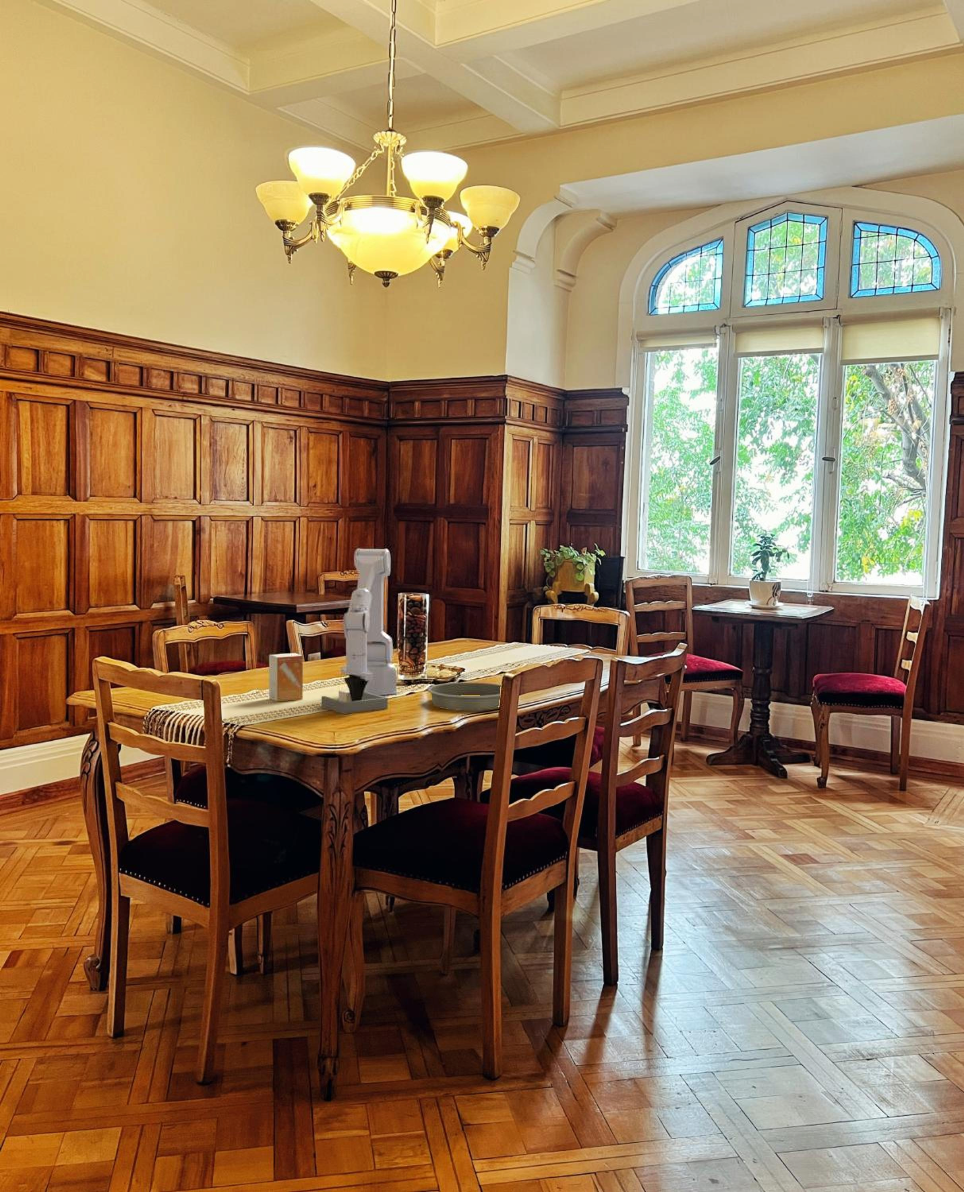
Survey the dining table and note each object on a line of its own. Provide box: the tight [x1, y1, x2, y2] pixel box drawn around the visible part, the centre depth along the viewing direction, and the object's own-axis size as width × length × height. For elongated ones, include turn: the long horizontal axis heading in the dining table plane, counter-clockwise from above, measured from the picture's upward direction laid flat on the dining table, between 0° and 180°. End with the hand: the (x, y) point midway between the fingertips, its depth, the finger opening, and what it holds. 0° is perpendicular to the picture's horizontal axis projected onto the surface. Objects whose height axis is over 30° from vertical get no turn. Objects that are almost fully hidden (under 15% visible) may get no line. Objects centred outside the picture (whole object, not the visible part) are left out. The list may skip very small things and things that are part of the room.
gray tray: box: [321, 692, 389, 715], centre depth 281 cm, size 14×12×3 cm
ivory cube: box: [338, 688, 352, 702], centre depth 284 cm, size 4×4×4 cm
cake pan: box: [427, 681, 502, 711], centre depth 290 cm, size 25×25×4 cm
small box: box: [268, 652, 304, 703], centre depth 294 cm, size 8×6×13 cm
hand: (356, 702), depth 281 cm, fingers closed
